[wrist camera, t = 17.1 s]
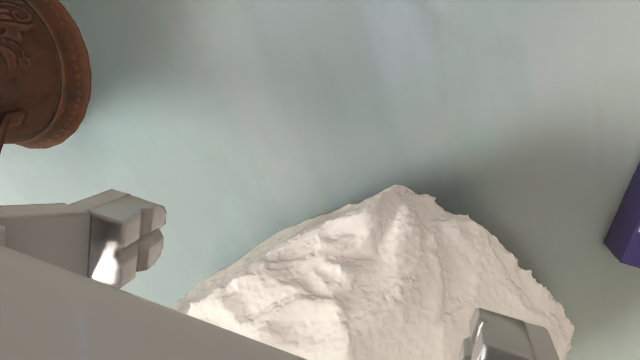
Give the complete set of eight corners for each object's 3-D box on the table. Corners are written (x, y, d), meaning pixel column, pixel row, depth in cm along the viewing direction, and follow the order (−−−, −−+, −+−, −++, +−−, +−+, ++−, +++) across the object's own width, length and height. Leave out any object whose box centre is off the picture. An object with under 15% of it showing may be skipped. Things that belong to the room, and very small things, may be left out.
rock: (638, 407, 34) (286, 572, 42) (490, 210, 51) (260, 357, 59) (521, 240, 17) (-14, 565, 26) (360, 32, 34) (69, 271, 43)
